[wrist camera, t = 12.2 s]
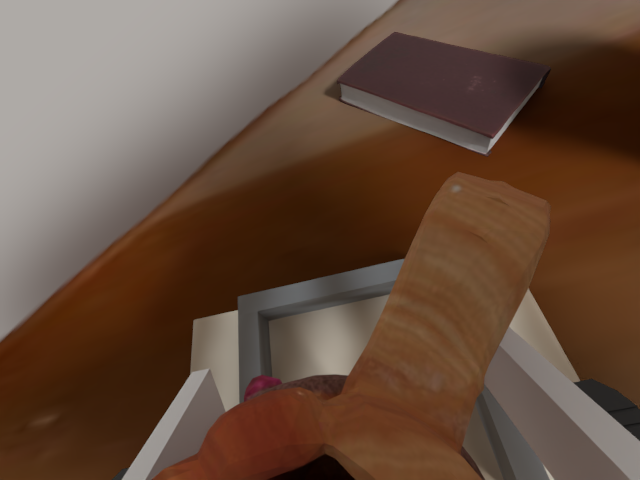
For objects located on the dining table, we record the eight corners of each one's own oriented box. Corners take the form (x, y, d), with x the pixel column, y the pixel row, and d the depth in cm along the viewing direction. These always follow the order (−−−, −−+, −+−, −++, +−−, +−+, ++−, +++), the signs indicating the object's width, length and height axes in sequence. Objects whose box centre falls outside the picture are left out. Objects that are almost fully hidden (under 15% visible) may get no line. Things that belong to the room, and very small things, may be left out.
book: (395, 51, 44) (395, 26, 41) (542, 88, 35) (555, 59, 32) (338, 104, 40) (334, 80, 37) (485, 160, 31) (495, 135, 28)
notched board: (501, 256, 25) (517, 232, 22) (738, 691, 14) (843, 771, 10) (200, 323, 27) (176, 310, 24) (179, 754, 16) (126, 836, 12)
